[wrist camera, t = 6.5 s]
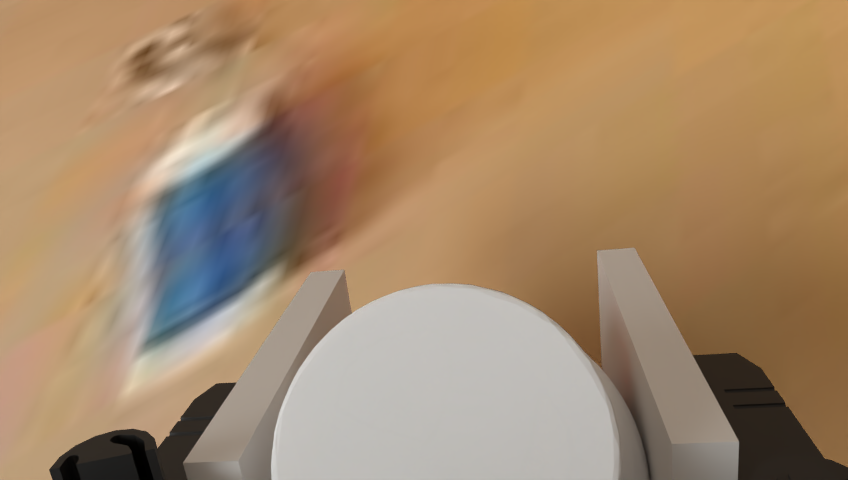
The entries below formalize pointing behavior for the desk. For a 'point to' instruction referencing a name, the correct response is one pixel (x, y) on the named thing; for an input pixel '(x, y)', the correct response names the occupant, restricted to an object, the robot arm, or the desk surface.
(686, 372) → the robot arm
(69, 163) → the desk surface
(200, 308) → the desk surface
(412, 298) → the pill bottle
